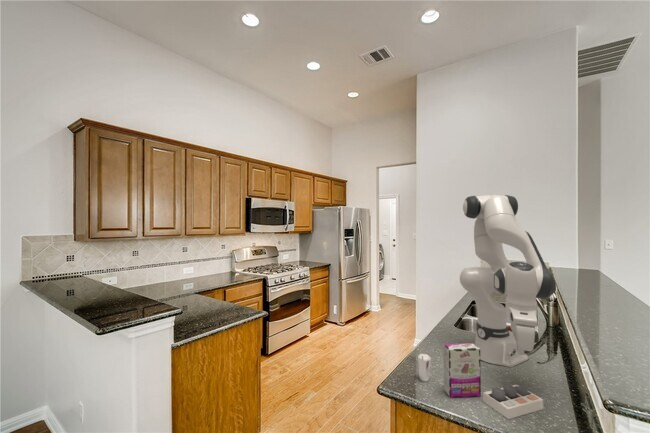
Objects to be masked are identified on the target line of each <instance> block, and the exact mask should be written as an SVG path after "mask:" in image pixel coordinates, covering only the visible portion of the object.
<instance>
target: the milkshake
mask: <svg viewBox="0 0 650 433" xmlns="http://www.w3.org/2000/svg"><path fill="white" fill-rule="evenodd" d="M431 359H432V358H431V356H430V355H428V354H426V353H419V355H418V356H417V361H418V372H419V374H418V375H419V380H420V381H421V382H429V380H430V370H431V361H432V360H431Z"/></svg>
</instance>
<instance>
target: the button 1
mask: <svg viewBox="0 0 650 433" xmlns="http://www.w3.org/2000/svg"><path fill="white" fill-rule="evenodd" d="M491 390H492V398H493V399H495V400H496V401H498V402H503V401H505V391H504V390H502V389H500V387H492V388H491Z"/></svg>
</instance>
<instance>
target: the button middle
mask: <svg viewBox="0 0 650 433" xmlns="http://www.w3.org/2000/svg"><path fill="white" fill-rule="evenodd" d="M502 388H503V390H504V391H505V396H507V397H508V398H510V399H515V398H517V389H516V388H515V387H513V386H512V385H510V384H503V386H502Z"/></svg>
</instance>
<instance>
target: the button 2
mask: <svg viewBox="0 0 650 433" xmlns="http://www.w3.org/2000/svg"><path fill="white" fill-rule="evenodd" d="M515 388H516V389H517V393H518V394H519V395H521V396H526V395H528V391H529V390H528V389H527V388H525V387H524V386H521V385H519V386H515Z"/></svg>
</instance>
